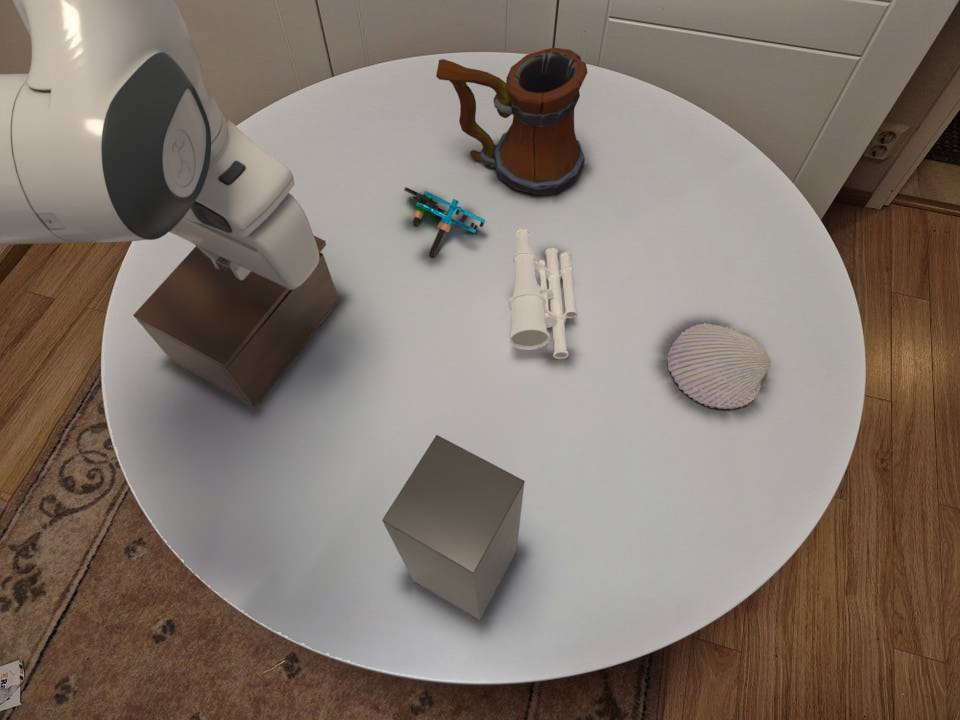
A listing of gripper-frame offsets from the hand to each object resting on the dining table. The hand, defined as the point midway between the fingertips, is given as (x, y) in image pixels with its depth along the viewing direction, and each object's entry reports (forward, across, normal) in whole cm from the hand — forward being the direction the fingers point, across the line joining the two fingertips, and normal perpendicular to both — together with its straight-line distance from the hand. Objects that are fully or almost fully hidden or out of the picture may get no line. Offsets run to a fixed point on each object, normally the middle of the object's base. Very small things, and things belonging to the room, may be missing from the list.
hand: (235, 269), depth 63 cm
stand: (+13, +30, -11) cm, 35 cm away
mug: (+13, +11, +36) cm, 40 cm away
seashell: (+13, +44, +20) cm, 50 cm away
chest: (+13, -2, 0) cm, 13 cm away
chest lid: (+4, -2, +1) cm, 5 cm away
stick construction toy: (+13, +8, +22) cm, 27 cm away
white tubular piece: (+13, +24, +18) cm, 33 cm away
